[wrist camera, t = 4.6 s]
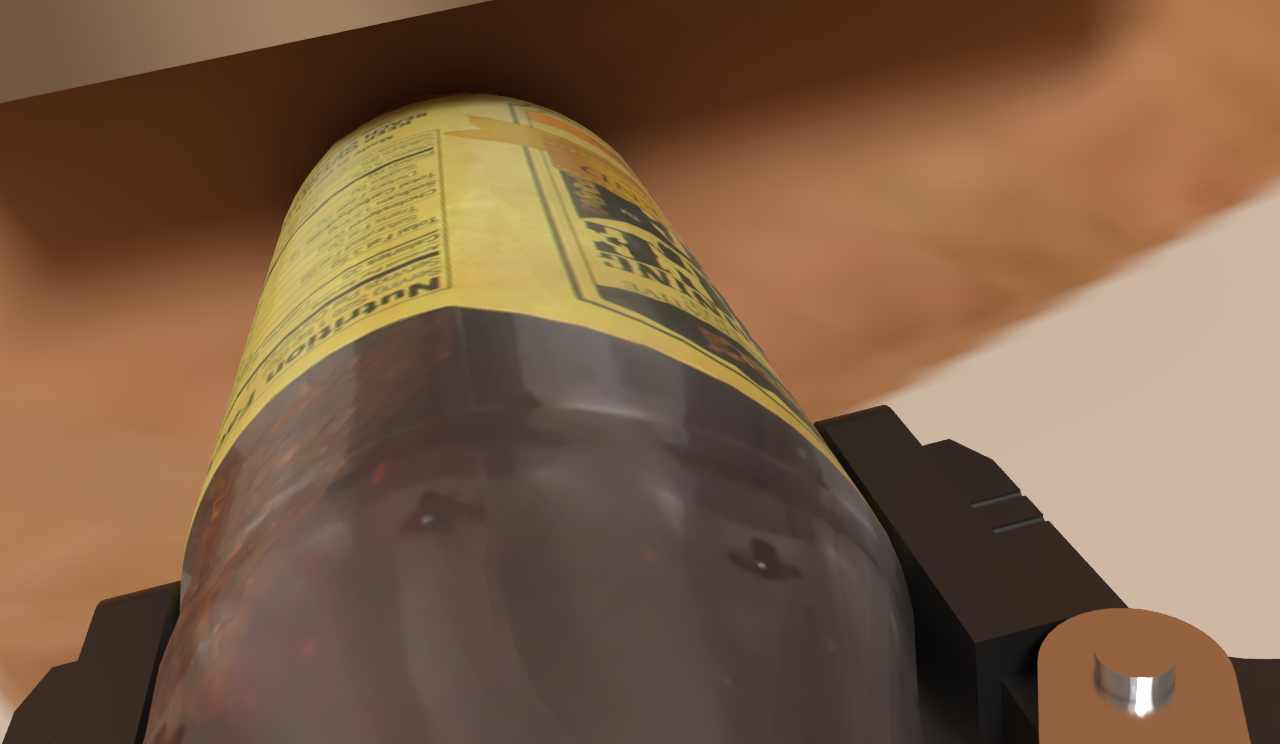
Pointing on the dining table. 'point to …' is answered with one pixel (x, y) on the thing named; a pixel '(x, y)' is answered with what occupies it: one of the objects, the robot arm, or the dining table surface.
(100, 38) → the walnut rail
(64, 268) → the dining table surface
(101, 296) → the dining table surface
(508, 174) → the sauce bottle
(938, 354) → the dining table surface
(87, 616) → the dining table surface
